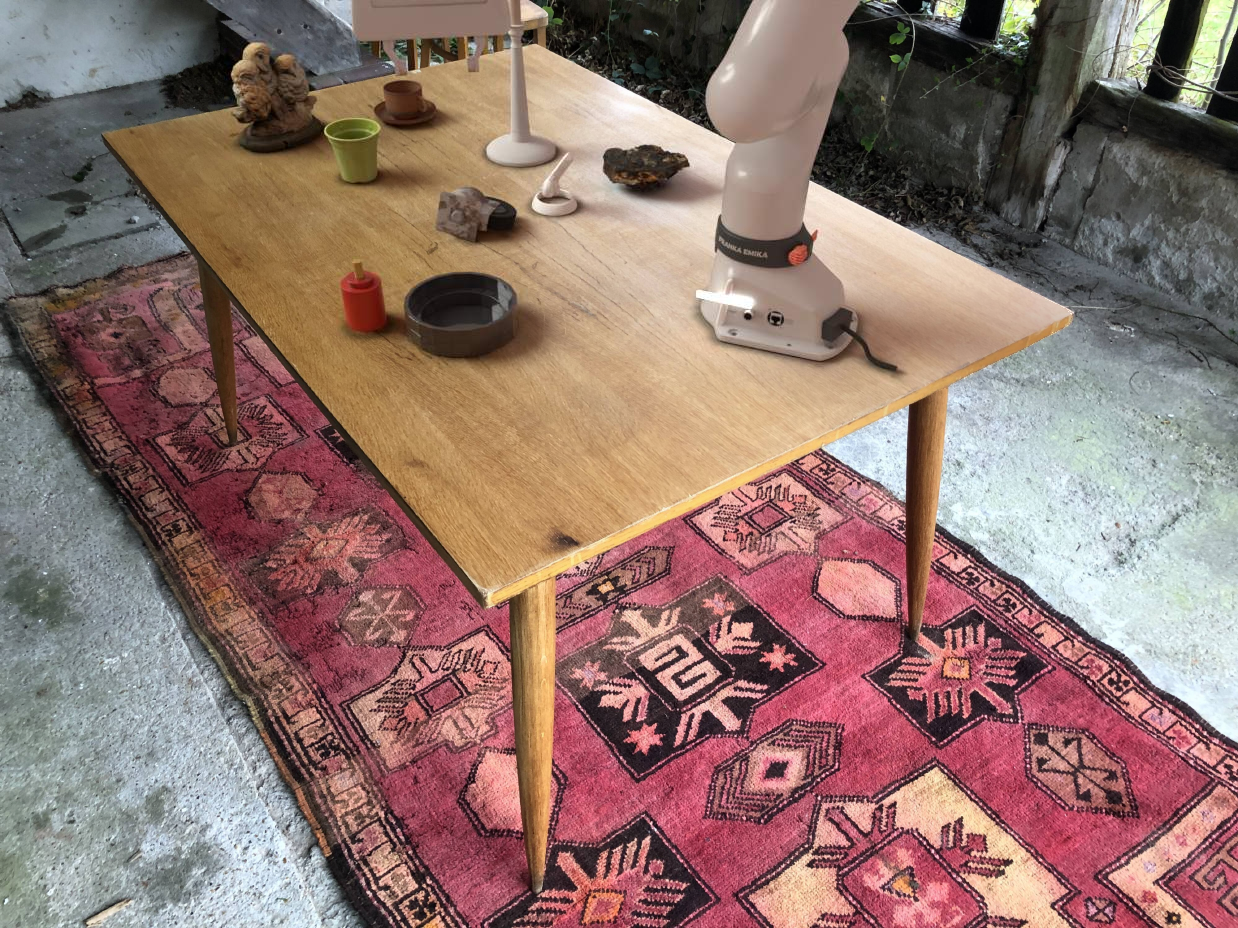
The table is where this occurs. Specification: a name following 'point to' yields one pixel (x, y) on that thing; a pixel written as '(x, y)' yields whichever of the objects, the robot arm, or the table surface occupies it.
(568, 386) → the table surface
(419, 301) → the bowl
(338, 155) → the plant pot
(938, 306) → the table surface
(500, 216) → the caster wheel
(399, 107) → the cup and saucer
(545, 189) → the hook
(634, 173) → the fossil rock
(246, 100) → the owl figurine
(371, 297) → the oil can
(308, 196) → the table surface
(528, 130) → the candlestick
